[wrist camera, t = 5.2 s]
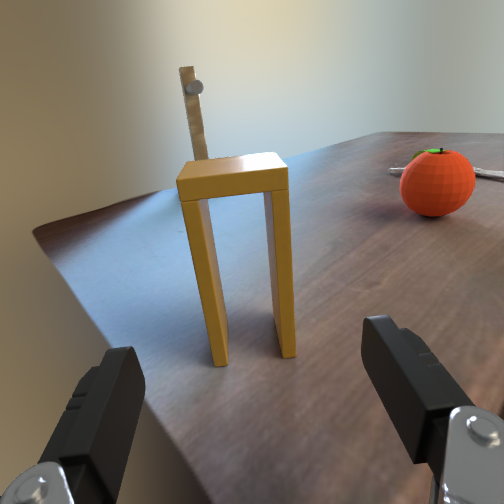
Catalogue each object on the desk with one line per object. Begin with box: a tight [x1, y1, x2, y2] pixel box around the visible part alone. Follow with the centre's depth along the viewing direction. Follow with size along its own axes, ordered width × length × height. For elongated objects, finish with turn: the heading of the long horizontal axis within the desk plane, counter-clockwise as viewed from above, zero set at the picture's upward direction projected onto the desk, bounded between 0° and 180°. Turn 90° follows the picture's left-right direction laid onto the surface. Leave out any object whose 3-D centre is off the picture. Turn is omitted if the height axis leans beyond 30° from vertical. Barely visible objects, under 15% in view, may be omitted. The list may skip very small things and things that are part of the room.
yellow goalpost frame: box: [176, 152, 296, 367], centre depth 18 cm, size 5×4×11 cm
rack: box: [179, 66, 209, 161], centre depth 47 cm, size 7×10×18 cm
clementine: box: [400, 148, 475, 216], centre depth 34 cm, size 8×7×7 cm
